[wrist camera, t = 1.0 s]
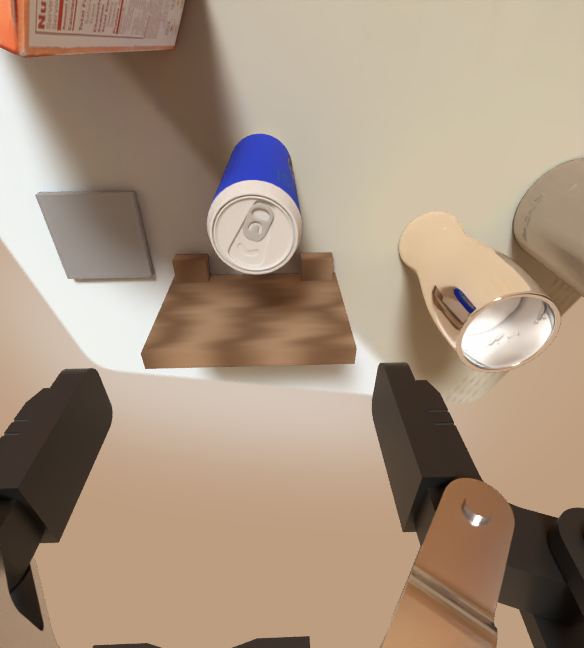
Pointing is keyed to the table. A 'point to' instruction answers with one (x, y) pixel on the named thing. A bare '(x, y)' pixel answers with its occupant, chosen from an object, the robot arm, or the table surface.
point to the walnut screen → (250, 318)
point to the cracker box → (88, 26)
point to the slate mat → (97, 233)
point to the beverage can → (256, 208)
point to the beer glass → (478, 295)
